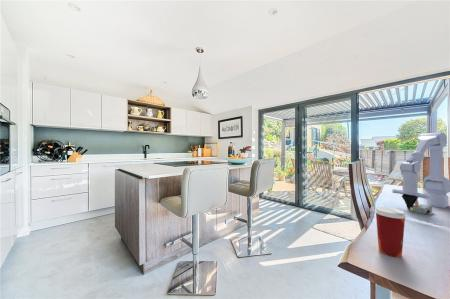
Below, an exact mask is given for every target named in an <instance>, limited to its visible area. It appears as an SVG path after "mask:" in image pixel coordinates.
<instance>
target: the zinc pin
mask: <svg viewBox="0 0 450 299" xmlns="http://www.w3.org/2000/svg"><path fill="white" fill-rule="evenodd" d="M409 211H410V212H414V206H413V207H410V209H409ZM433 214H434V212H433V211H432V212H427V214H426V215H430V216H431V215H433Z"/></svg>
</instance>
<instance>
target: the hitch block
mask: <svg viewBox="0 0 450 299" xmlns="http://www.w3.org/2000/svg"><path fill="white" fill-rule="evenodd" d="M427 212H432V213H433V206H430V205H428V204H419V205H416V206H414V211H413V213H415V214H418V215H419V214H420V215H424V216H425V215H428V214H427Z"/></svg>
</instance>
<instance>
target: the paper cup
mask: <svg viewBox="0 0 450 299" xmlns="http://www.w3.org/2000/svg"><path fill="white" fill-rule="evenodd" d="M374 213H375V218H376V229H377V230H376V233H377V242H378V243H377V245H378V250H379V252H380V253H382V254H383V255H386V256H389V257H393V258H401V257H402V256H403V246H404V234H405V221H406V219H407V215H406V213H405V212H404V211H403V210H401V209H397V208H394V207H387V206H377V207H376V209H375V210H374Z"/></svg>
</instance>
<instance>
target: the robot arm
mask: <svg viewBox="0 0 450 299" xmlns="http://www.w3.org/2000/svg"><path fill="white" fill-rule="evenodd" d="M416 138H417V146H416V147H415V150H414V151H412V152H410V154H409V156H408V157H407V158H406V160H405V161H403V162H401V163H400V164H399V170H400V173H401V176H402V189H395V188H394V189H393V188H392V194H398V195H399V194H400V195H401V198H402V200H403V201H404V203H405V205H406V208H407V210H410V207H413V205H415V201H416V200H418V199H419V198H421V199H425V200H426V201H427V203H426V205H427V206H432V207H437V208H447V207H449V196H448V194H450V178H447V177H445V176H444V175H443V173H444V172H443V166H444V165H443V160H444V159H443V158H444V157H443V155H444V152H443V151H444V148H445V147H447V144H448V142H447V141H448V140H447V138H448V137H447V135H446V133H445V132H443V131H441V132H432V133H431V132H428V133H419V134H418V135H417V137H416ZM428 149H429V175H427V176H425V177H424V178H423V182H422V188H423V189H424V190H425V192H426V194H425V193H421V192H418V187H419V186H418V183H419V182H418V180H419V179H418V178H419V177H418V174H419V173H420V172H421V168H422V163H423V161H424V159H425V158H426V155H425V153H426V151H427V150H428Z"/></svg>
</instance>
